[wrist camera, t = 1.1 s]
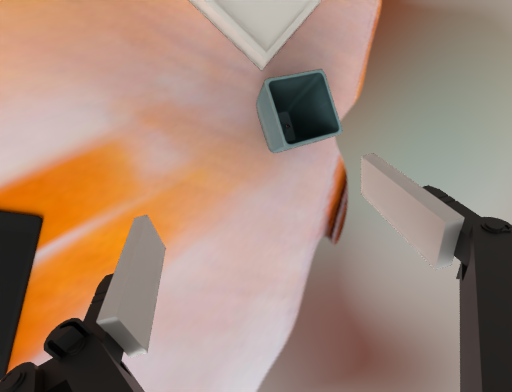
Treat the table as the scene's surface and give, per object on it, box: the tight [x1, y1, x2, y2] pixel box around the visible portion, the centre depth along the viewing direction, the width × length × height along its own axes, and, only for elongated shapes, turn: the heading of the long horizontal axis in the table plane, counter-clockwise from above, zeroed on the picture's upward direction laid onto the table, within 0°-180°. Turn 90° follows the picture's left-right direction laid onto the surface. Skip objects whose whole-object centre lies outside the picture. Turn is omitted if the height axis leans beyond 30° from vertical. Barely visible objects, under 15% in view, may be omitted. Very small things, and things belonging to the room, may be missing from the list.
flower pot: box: [257, 69, 343, 153], centre depth 38 cm, size 9×9×9 cm
